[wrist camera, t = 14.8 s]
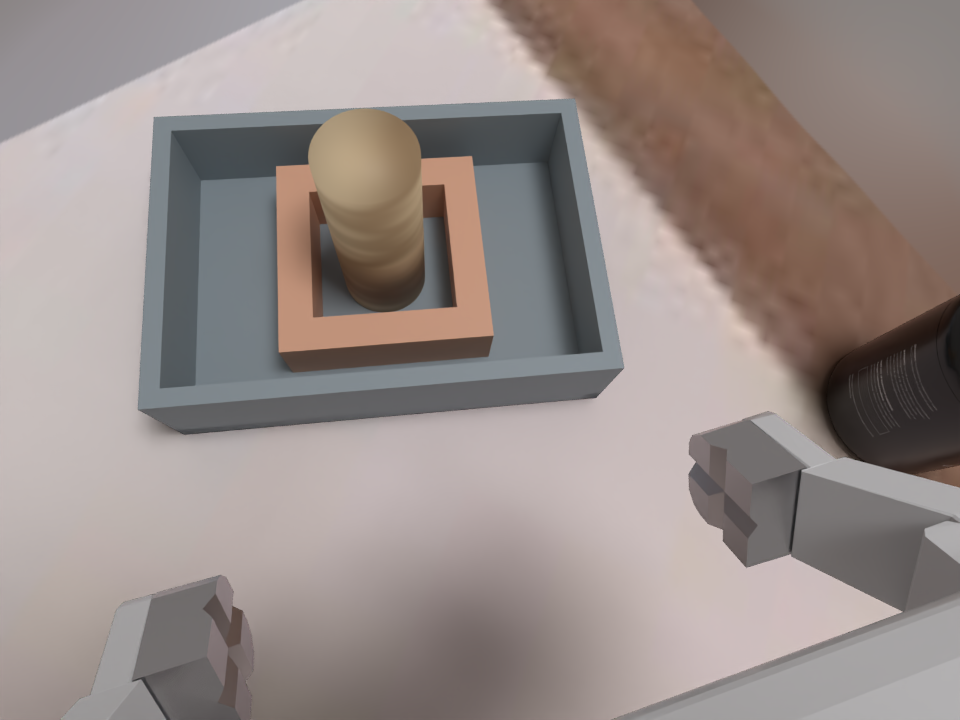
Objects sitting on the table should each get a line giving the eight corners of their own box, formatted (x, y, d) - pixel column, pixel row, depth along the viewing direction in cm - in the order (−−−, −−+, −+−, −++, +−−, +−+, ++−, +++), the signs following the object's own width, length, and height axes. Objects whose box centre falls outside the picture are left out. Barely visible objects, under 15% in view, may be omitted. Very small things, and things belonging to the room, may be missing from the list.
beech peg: (347, 315, 32) (309, 207, 22) (343, 243, 33) (306, 110, 23) (428, 309, 32) (425, 200, 23) (421, 238, 33) (416, 106, 24)
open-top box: (184, 434, 30) (137, 409, 26) (192, 179, 35) (153, 117, 30) (596, 397, 32) (624, 367, 27) (556, 159, 36) (574, 98, 32)
